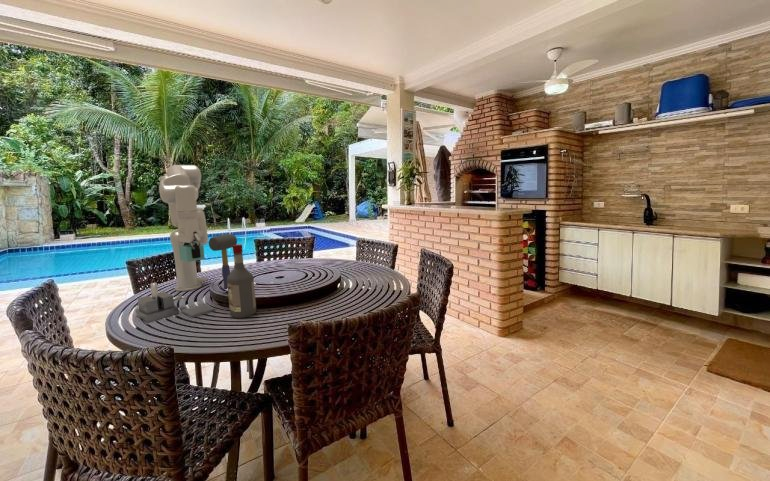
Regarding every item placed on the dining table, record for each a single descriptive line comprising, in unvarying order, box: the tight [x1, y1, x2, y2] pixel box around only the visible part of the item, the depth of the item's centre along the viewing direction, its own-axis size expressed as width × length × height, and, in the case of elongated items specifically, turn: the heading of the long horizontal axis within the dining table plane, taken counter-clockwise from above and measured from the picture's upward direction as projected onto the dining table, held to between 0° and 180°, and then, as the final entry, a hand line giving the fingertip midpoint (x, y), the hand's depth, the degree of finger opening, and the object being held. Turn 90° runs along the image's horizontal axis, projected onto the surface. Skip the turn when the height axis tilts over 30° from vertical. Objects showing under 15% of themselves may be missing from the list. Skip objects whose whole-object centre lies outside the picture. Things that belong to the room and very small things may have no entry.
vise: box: [135, 282, 187, 323], centre depth 153 cm, size 17×12×14 cm
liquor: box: [227, 244, 257, 319], centre depth 149 cm, size 9×9×30 cm
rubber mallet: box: [208, 233, 238, 290], centre depth 179 cm, size 12×8×30 cm, turn 156°
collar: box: [179, 244, 205, 262], centre depth 150 cm, size 7×7×6 cm
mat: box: [180, 303, 216, 319], centre depth 155 cm, size 10×10×1 cm
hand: (192, 256), depth 151 cm, fingers closed on collar, 7 cm apart
